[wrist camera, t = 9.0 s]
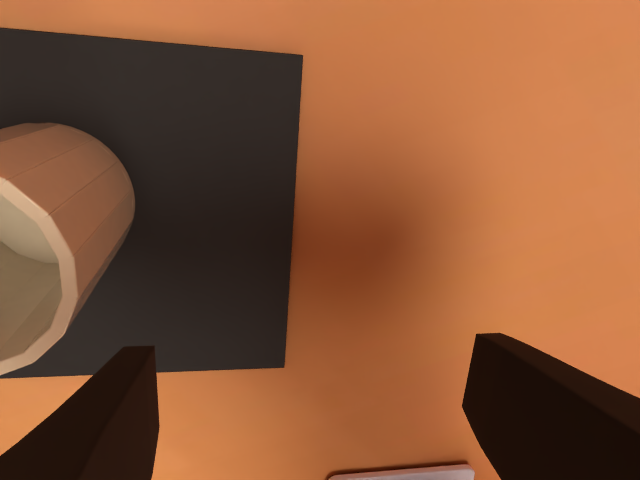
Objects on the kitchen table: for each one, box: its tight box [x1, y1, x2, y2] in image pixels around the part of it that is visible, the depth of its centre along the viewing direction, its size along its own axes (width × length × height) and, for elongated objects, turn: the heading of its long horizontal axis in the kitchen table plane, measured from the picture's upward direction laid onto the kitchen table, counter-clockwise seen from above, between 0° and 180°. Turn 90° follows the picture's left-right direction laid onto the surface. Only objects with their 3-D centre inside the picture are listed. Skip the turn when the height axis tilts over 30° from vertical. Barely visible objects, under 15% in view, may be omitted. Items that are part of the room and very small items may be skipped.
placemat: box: [0, 28, 303, 378], centre depth 17 cm, size 13×17×1 cm
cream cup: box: [0, 122, 135, 375], centre depth 13 cm, size 5×5×7 cm
